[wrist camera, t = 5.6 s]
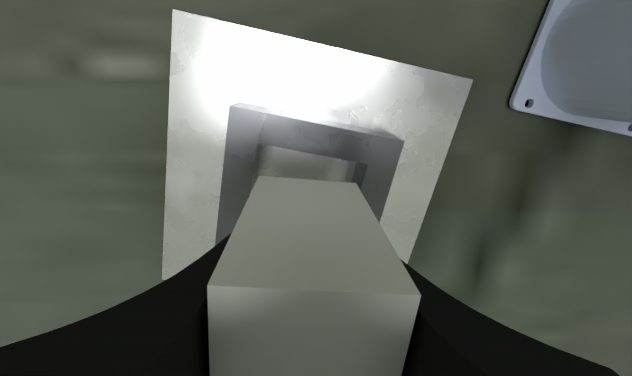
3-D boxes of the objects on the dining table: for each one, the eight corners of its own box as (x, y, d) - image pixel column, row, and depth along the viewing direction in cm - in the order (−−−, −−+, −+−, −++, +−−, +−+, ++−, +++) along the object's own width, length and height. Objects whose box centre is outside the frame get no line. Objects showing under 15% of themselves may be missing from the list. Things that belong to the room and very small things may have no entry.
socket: (463, 79, 17) (502, 79, 14) (386, 300, 22) (401, 338, 19) (180, 13, 15) (147, -5, 12) (168, 270, 21) (143, 306, 17)
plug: (355, 182, 12) (421, 295, 6) (344, 265, 14) (385, 437, 7) (258, 175, 12) (206, 285, 5) (255, 261, 13) (211, 435, 7)
